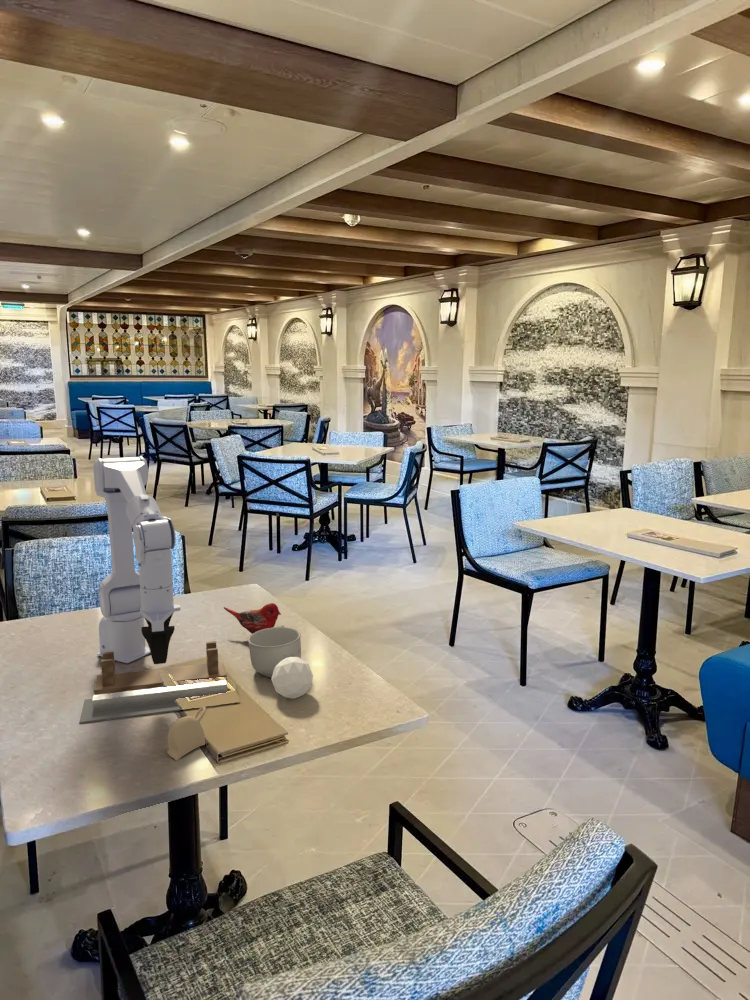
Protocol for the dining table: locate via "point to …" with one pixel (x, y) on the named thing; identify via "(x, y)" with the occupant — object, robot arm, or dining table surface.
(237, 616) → the decorative bird figurine
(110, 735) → the dining table surface
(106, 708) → the steel bar
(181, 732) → the decorative ornament
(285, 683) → the geometric ball
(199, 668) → the hook stands
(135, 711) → the mat
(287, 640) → the teacup
